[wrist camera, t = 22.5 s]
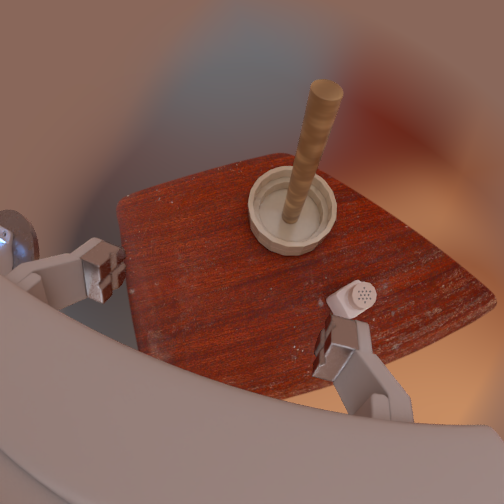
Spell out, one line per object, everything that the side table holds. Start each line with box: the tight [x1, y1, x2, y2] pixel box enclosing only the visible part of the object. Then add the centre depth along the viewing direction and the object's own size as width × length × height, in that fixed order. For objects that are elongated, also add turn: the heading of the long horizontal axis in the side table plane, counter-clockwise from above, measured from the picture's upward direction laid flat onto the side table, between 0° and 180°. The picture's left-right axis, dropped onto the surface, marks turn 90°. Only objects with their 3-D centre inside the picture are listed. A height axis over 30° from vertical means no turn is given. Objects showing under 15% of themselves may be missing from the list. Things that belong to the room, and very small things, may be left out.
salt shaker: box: [326, 280, 377, 319], centre depth 37 cm, size 4×4×10 cm
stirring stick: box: [282, 79, 343, 224], centre depth 32 cm, size 3×3×26 cm
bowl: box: [248, 166, 337, 255], centre depth 43 cm, size 12×13×5 cm
